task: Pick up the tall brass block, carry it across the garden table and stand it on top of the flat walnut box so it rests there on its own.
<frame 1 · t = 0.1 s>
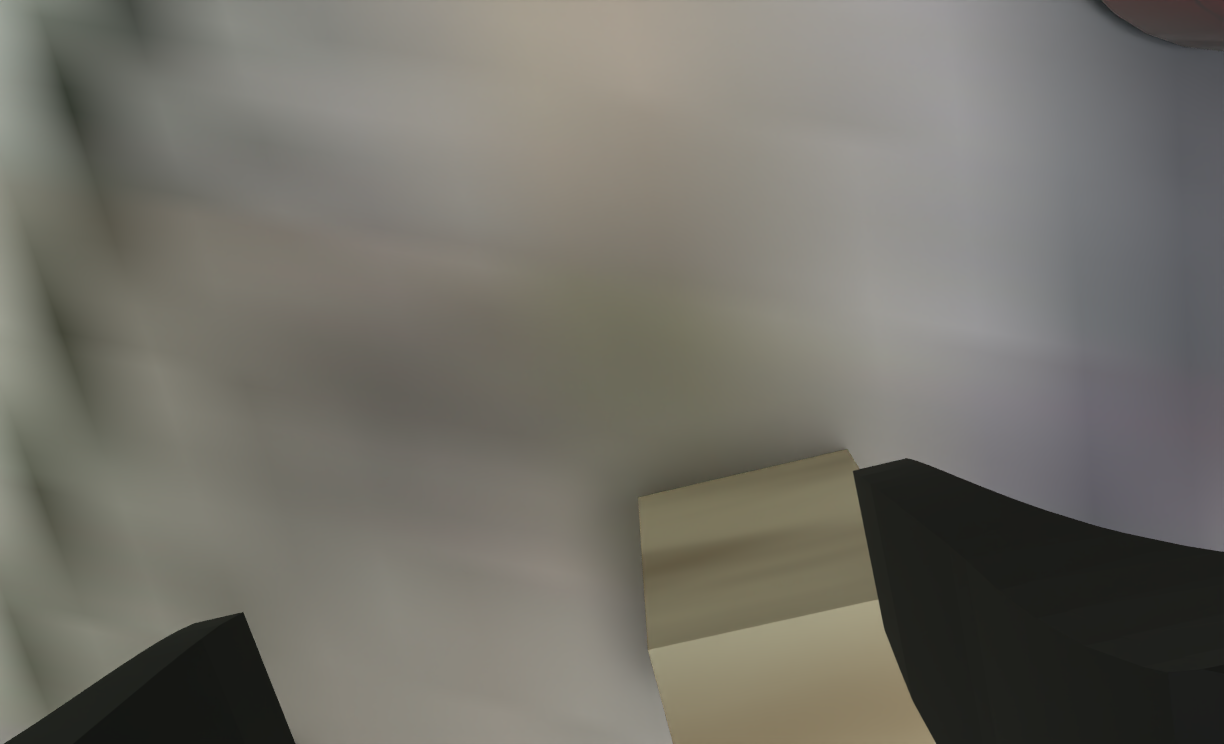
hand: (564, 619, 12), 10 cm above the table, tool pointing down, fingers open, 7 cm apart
brass block: (763, 566, 23), on the table
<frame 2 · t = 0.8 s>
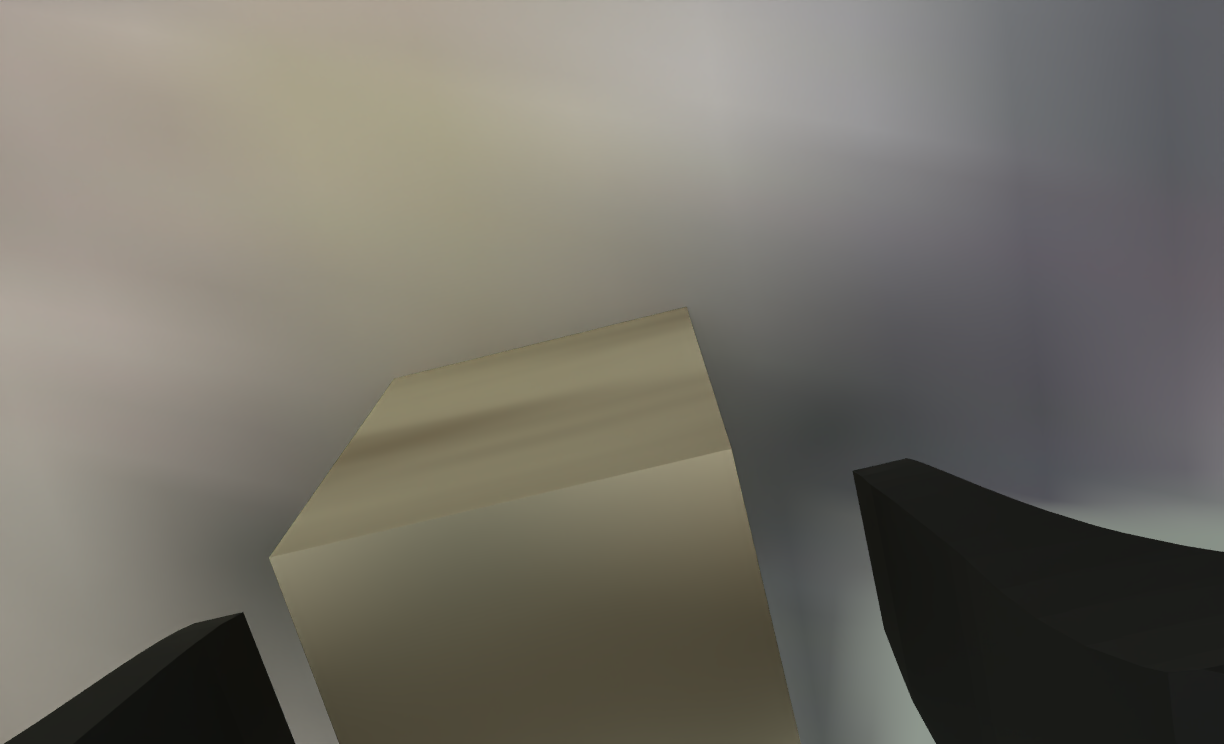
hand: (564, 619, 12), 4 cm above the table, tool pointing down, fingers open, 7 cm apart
brass block: (577, 479, 16), on the table
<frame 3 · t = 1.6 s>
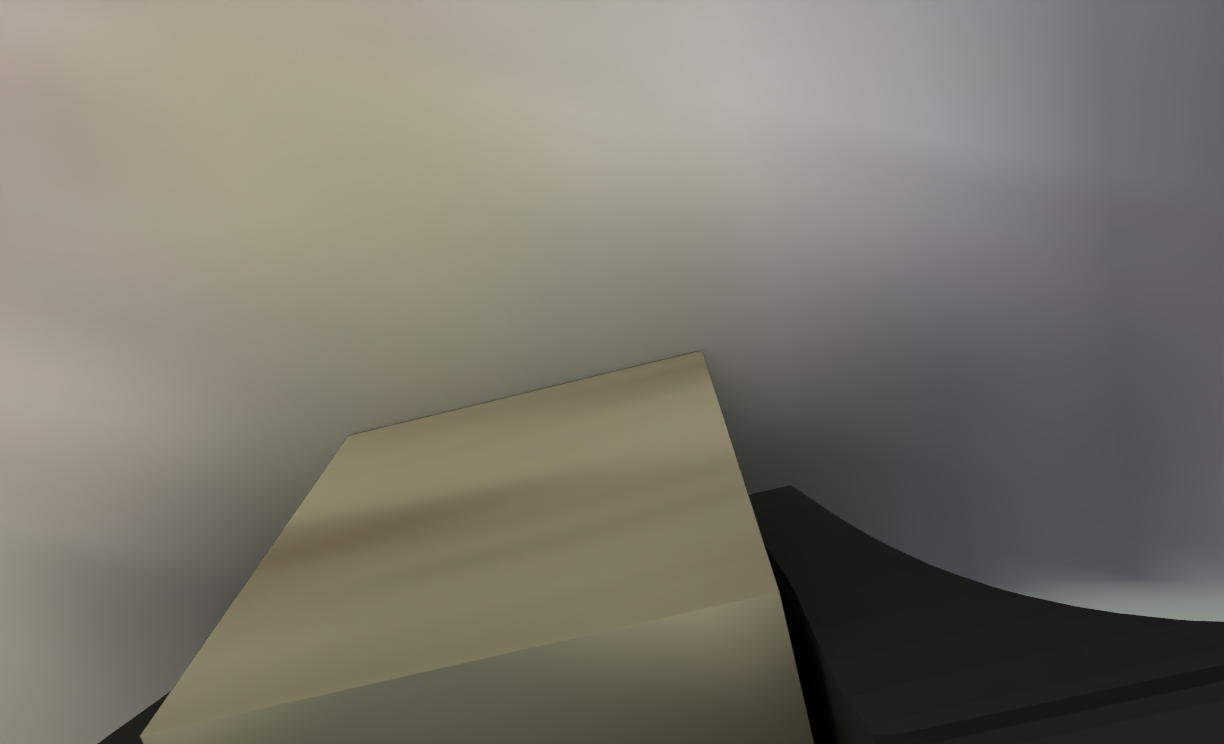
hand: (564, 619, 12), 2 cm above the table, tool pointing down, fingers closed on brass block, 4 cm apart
brass block: (569, 555, 13), on the table, touching gripper
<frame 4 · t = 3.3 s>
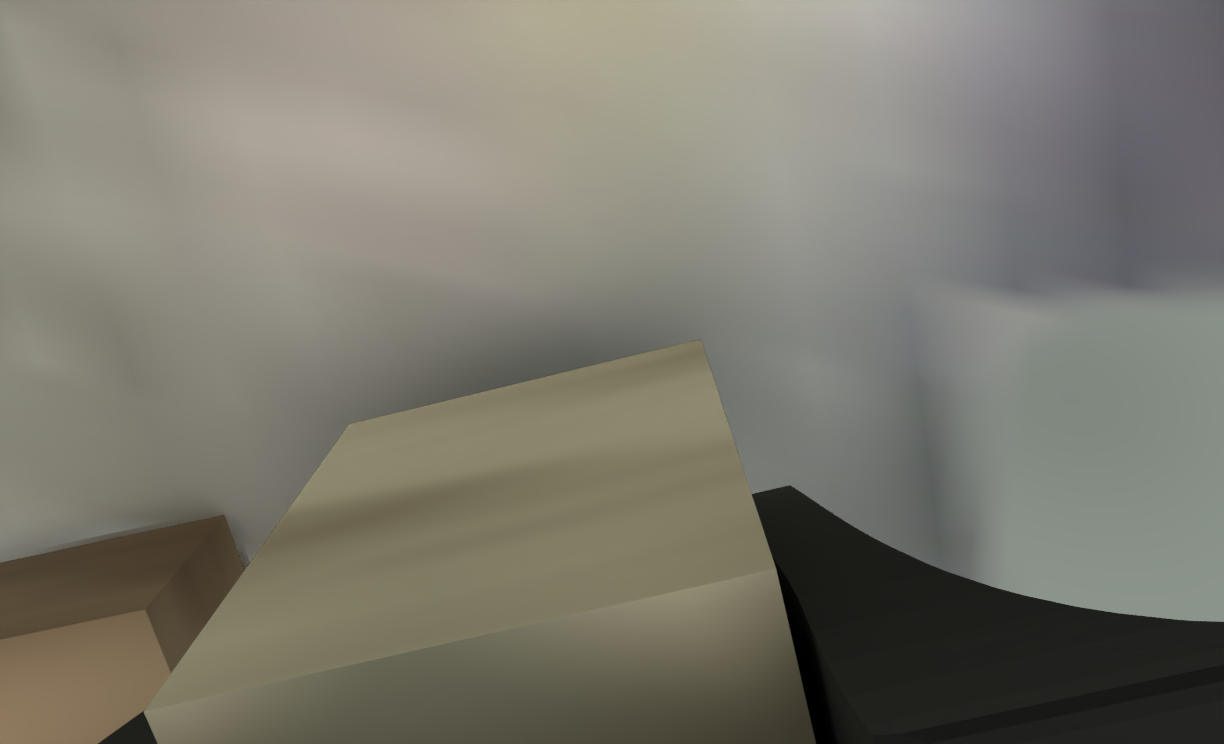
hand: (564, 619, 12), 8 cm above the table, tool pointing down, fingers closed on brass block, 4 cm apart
brass block: (569, 543, 13), point 7 cm above the table, touching gripper
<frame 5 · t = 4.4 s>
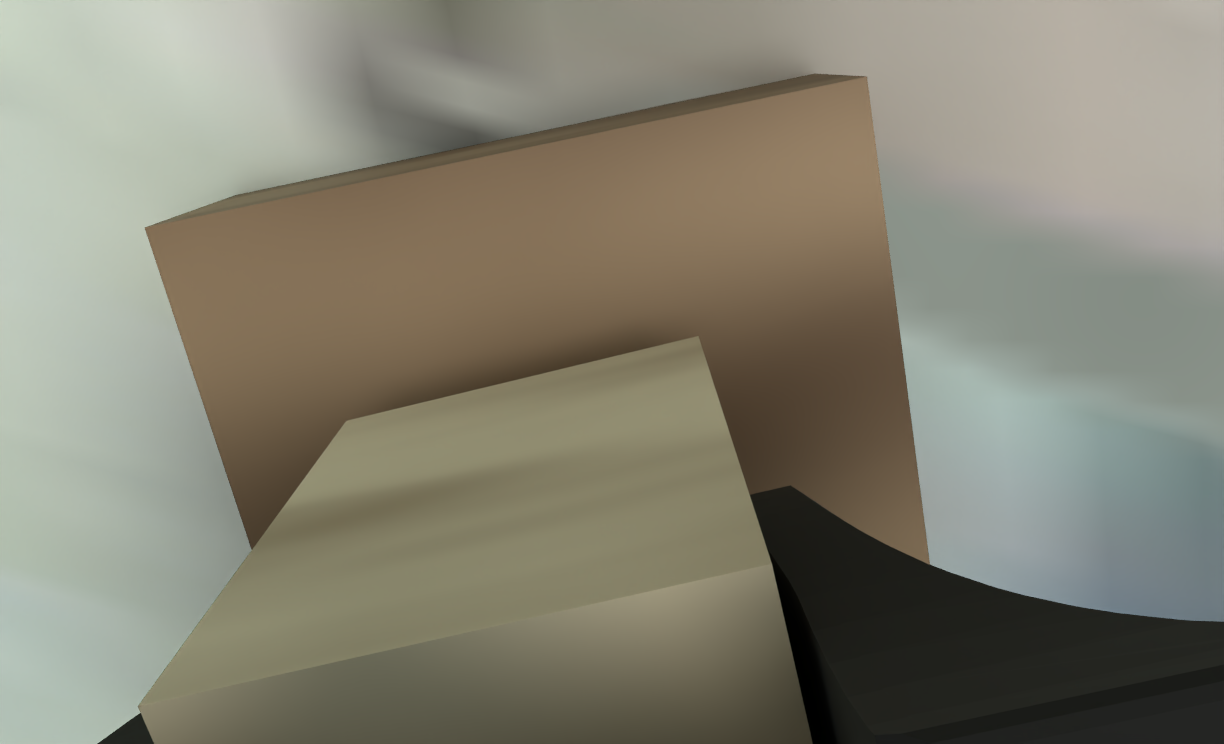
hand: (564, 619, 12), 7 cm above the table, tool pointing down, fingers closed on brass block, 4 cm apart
walnut box: (582, 404, 19), on the table
brass block: (566, 540, 13), point 6 cm above the table, touching gripper
when the fingers open (7 cm above the table, at t = 4.9 s): brass block drops 2 cm, resting on walnut box.
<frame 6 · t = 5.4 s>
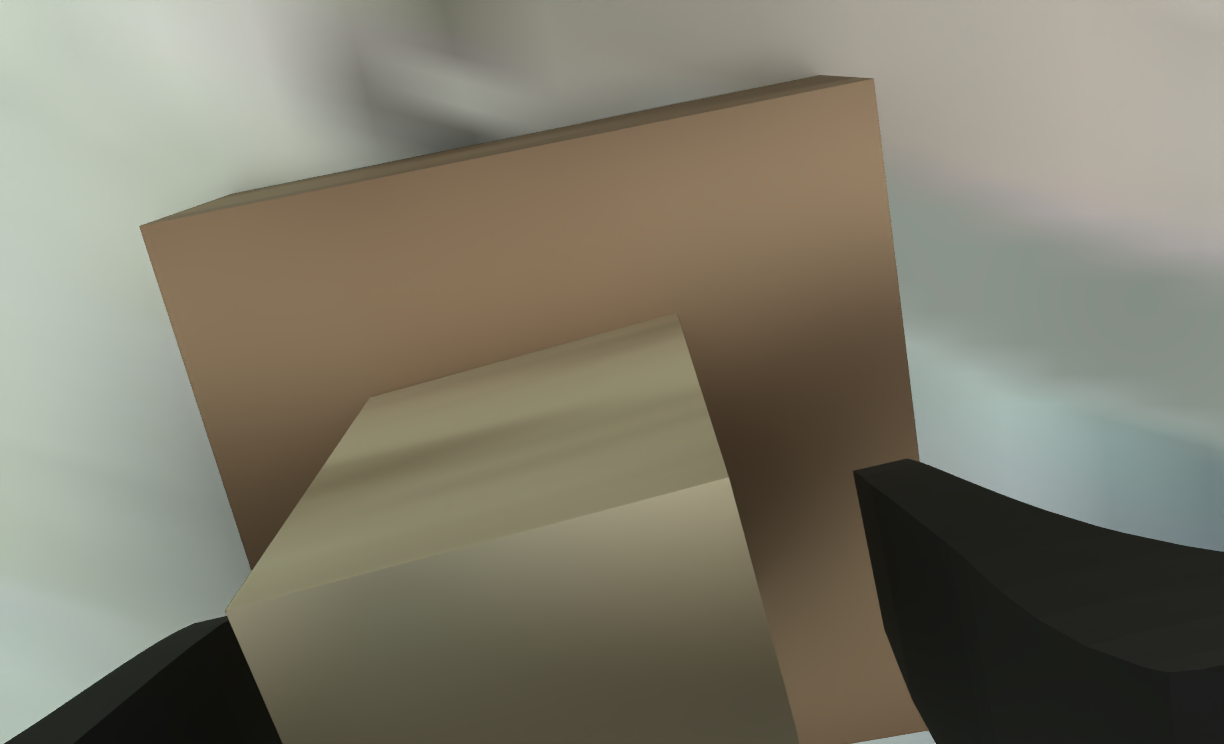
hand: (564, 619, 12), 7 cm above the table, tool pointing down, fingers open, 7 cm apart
walnut box: (582, 408, 19), on the table, touching brass block
brass block: (566, 498, 15), point 4 cm above the table, touching walnut box
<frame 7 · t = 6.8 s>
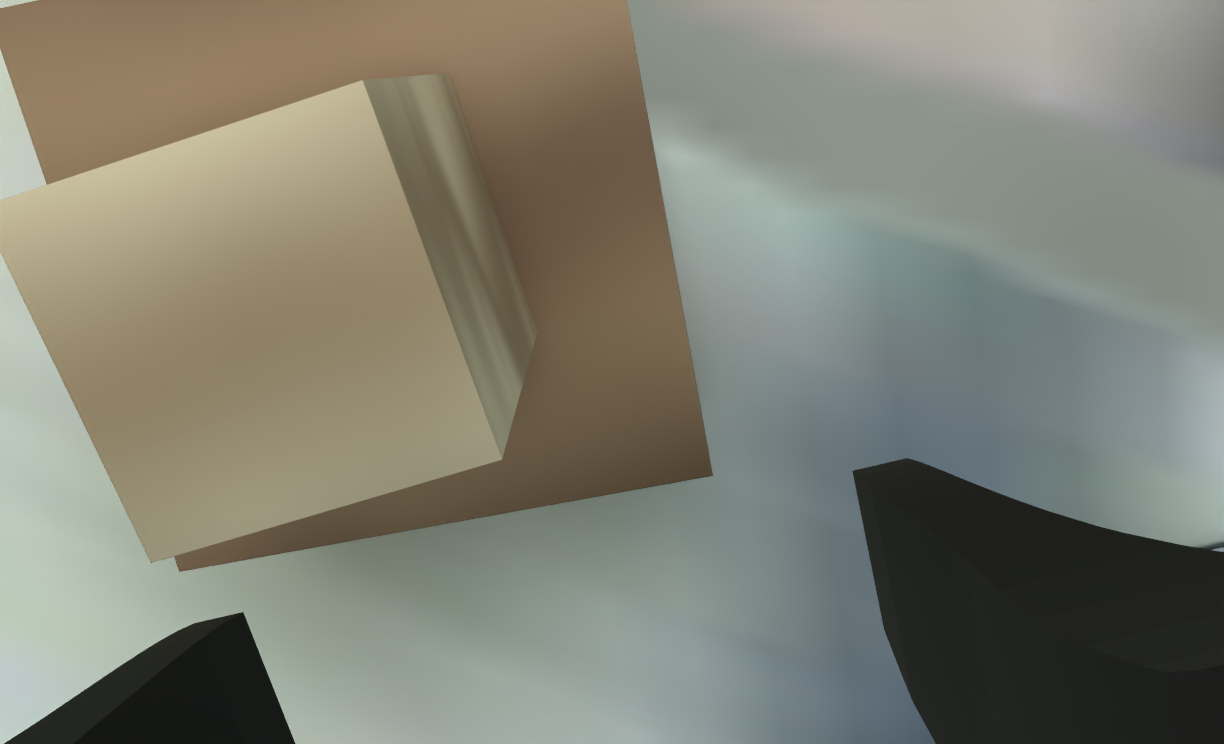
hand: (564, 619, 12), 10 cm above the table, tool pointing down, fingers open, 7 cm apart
walnut box: (415, 224, 21), on the table, touching brass block
brass block: (368, 246, 18), point 4 cm above the table, touching walnut box
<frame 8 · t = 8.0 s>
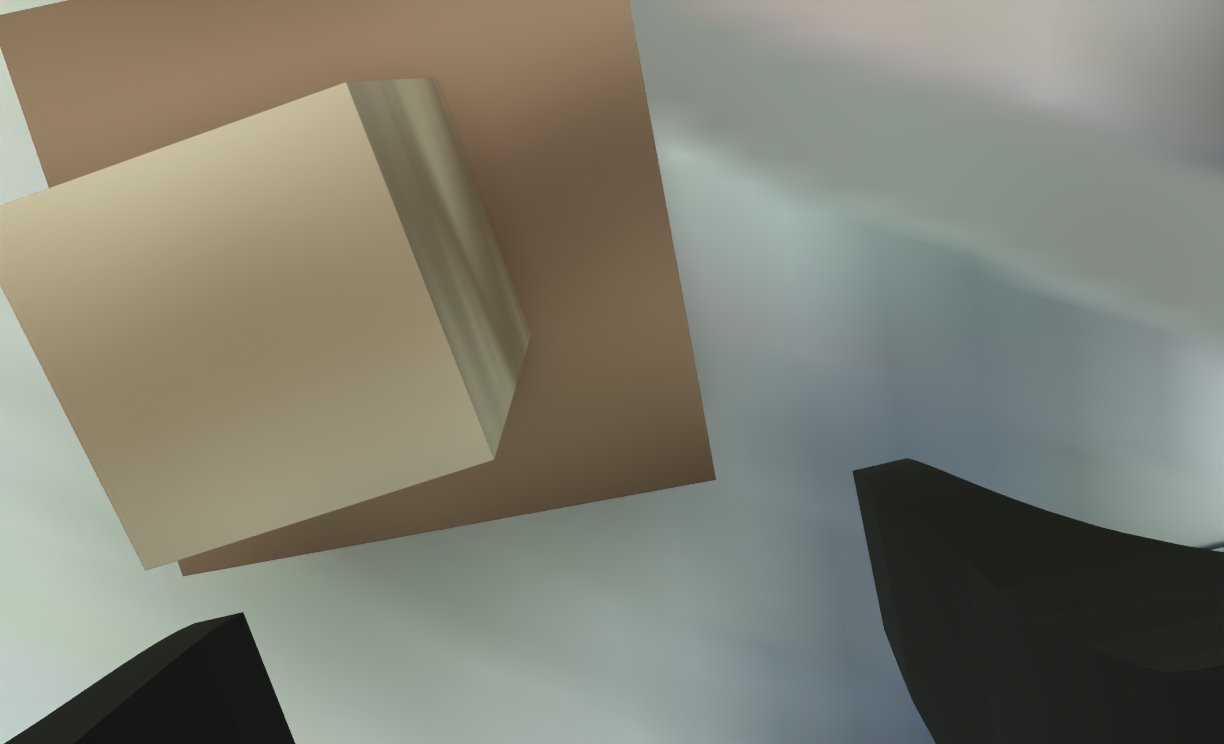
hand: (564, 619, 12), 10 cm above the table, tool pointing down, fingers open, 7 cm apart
walnut box: (418, 227, 21), on the table
brass block: (360, 252, 18), point 4 cm above the table
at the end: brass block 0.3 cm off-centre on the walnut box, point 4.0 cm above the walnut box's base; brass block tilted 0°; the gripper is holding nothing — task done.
